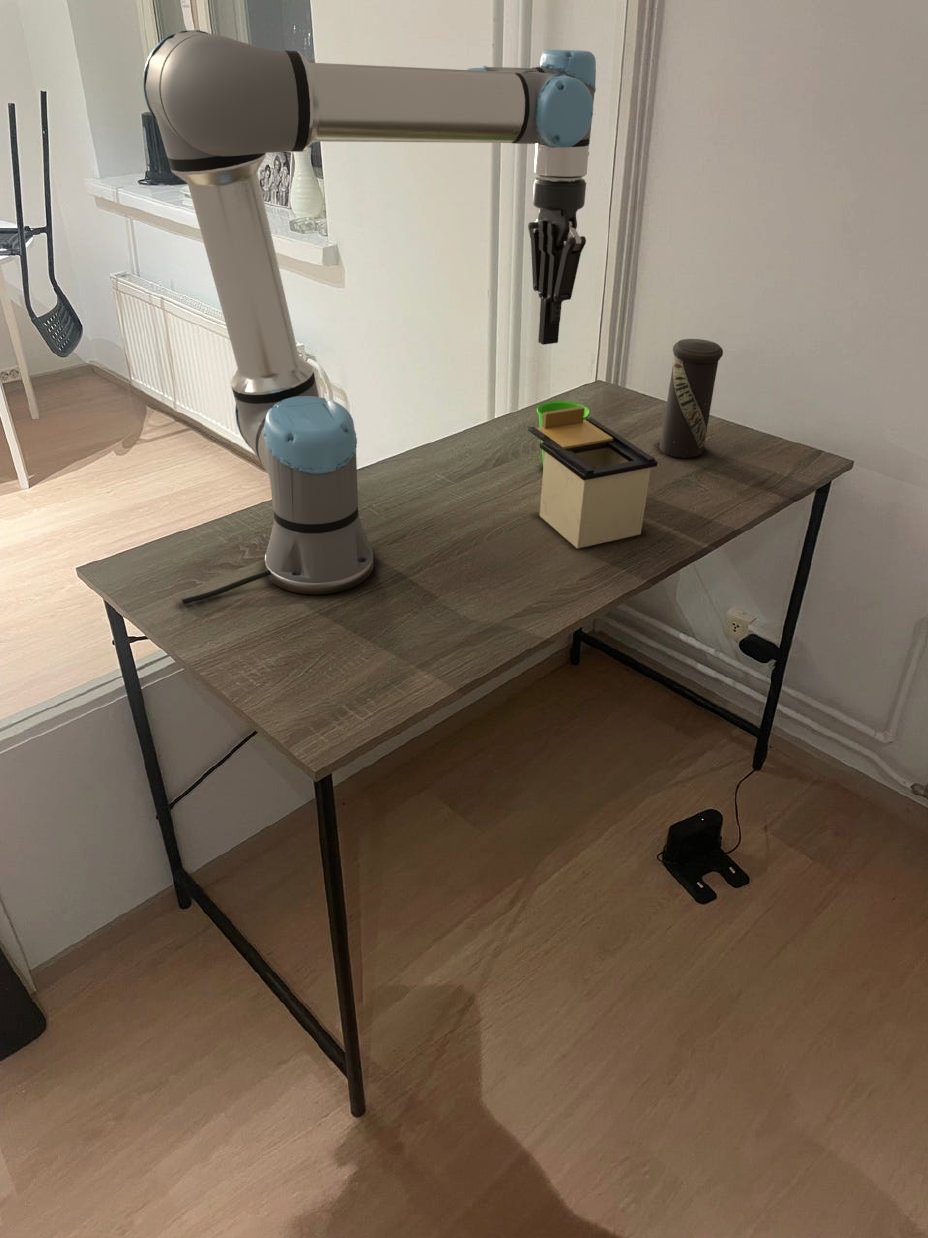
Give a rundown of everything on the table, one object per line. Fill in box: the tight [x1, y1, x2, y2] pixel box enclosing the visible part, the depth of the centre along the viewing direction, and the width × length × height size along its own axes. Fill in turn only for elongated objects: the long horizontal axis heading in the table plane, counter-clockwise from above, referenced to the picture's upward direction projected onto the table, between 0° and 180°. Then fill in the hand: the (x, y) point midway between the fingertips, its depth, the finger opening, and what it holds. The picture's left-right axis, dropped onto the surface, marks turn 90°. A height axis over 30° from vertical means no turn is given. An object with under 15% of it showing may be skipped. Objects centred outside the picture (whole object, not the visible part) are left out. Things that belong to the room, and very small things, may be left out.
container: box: [659, 338, 724, 459], centre depth 164 cm, size 9×9×20 cm
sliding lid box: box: [527, 416, 658, 549], centre depth 142 cm, size 13×18×13 cm
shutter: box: [536, 406, 613, 449], centre depth 141 cm, size 9×8×3 cm
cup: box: [536, 400, 591, 467], centre depth 158 cm, size 9×9×11 cm
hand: (548, 342), depth 143 cm, fingers closed
